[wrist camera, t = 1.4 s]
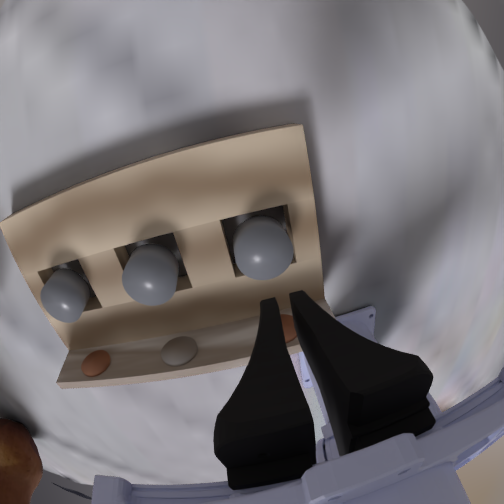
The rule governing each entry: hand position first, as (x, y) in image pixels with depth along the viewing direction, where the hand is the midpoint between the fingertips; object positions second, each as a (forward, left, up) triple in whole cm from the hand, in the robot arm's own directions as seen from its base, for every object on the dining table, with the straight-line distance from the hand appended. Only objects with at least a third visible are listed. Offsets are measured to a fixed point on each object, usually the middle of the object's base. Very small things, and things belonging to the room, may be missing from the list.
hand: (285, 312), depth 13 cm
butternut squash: (-25, +48, -10) cm, 55 cm away
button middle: (0, +7, -8) cm, 11 cm away
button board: (0, +7, -9) cm, 12 cm away
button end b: (0, +15, -8) cm, 17 cm away
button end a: (0, 0, -8) cm, 8 cm away
